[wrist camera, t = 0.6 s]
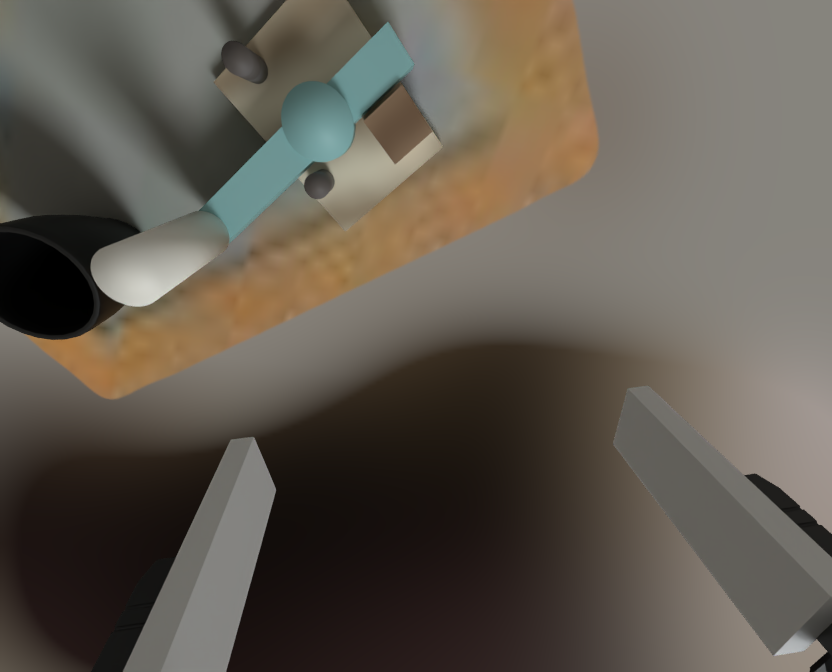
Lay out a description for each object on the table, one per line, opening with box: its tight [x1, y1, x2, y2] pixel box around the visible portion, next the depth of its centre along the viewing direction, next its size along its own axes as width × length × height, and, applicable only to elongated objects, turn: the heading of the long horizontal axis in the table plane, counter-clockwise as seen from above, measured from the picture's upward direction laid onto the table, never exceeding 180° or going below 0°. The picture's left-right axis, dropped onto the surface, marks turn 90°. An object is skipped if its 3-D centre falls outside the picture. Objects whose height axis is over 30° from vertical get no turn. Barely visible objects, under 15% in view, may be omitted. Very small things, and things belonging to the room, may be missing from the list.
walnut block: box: [363, 85, 433, 164], centre depth 27 cm, size 4×4×4 cm
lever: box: [91, 22, 415, 306], centre depth 23 cm, size 5×21×13 cm, turn 128°
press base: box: [214, 0, 443, 231], centre depth 27 cm, size 14×11×5 cm
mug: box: [0, 215, 140, 340], centre depth 28 cm, size 8×12×10 cm
